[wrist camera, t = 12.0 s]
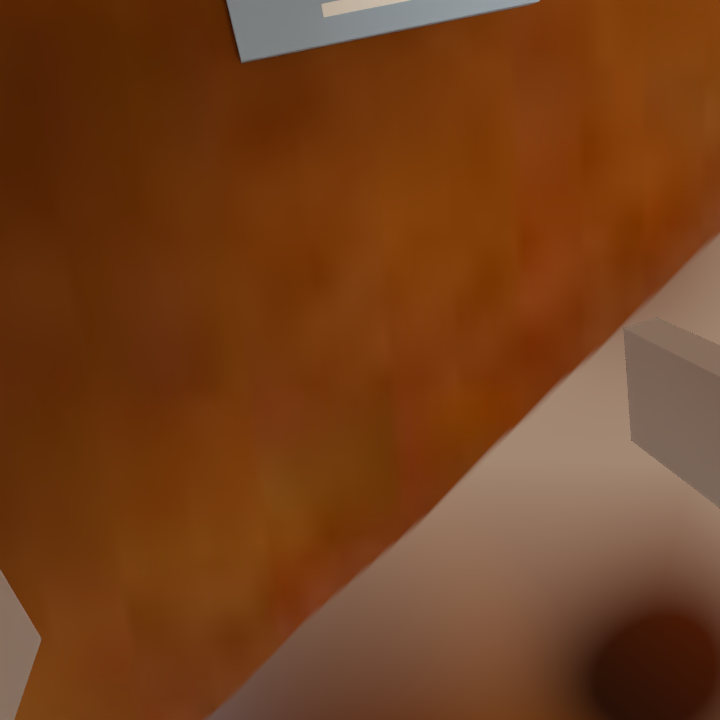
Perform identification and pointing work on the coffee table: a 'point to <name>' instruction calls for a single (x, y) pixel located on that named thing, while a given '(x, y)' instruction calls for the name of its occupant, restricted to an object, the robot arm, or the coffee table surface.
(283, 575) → the coffee table surface
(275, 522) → the coffee table surface
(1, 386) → the coffee table surface
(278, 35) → the blueprint board
